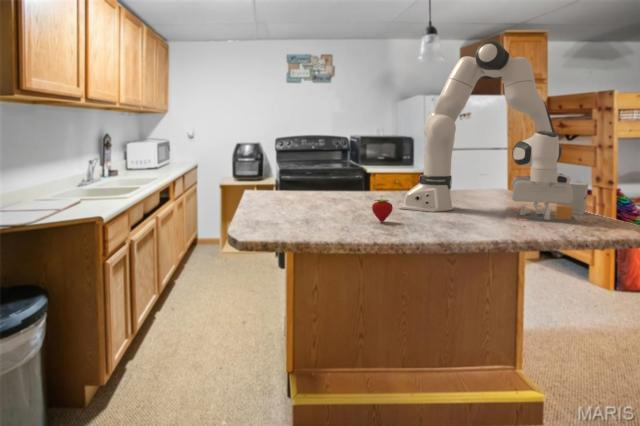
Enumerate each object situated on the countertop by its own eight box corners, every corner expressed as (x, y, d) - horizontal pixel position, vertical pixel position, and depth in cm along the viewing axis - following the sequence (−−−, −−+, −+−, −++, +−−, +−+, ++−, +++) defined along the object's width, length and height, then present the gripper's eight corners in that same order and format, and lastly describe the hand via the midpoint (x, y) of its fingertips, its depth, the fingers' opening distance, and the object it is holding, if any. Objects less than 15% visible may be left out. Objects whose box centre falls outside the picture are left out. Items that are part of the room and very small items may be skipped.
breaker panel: (516, 222, 178) (517, 217, 178) (516, 215, 193) (517, 210, 193) (578, 227, 171) (579, 221, 171) (573, 219, 186) (573, 213, 185)
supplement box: (582, 217, 189) (585, 185, 186) (561, 215, 193) (564, 183, 191) (585, 214, 194) (588, 183, 192) (565, 212, 199) (568, 181, 197)
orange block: (556, 218, 181) (557, 206, 180) (555, 216, 186) (556, 204, 185) (571, 219, 179) (572, 207, 178) (569, 217, 184) (570, 205, 183)
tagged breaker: (544, 219, 179) (545, 210, 178) (544, 218, 180) (545, 209, 179) (549, 219, 178) (550, 210, 177) (549, 219, 179) (549, 209, 179)
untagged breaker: (520, 215, 187) (521, 206, 186) (520, 214, 188) (520, 205, 188) (524, 215, 186) (525, 206, 186) (524, 214, 188) (525, 205, 187)
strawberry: (393, 223, 176) (393, 196, 174) (371, 223, 176) (372, 195, 174) (391, 220, 182) (392, 193, 180) (371, 220, 182) (371, 193, 180)
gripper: (512, 176, 178) (509, 214, 180) (575, 178, 171) (571, 217, 173) (512, 175, 184) (510, 211, 186) (573, 177, 176) (570, 214, 179)
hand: (540, 214), depth 179 cm, fingers closed
